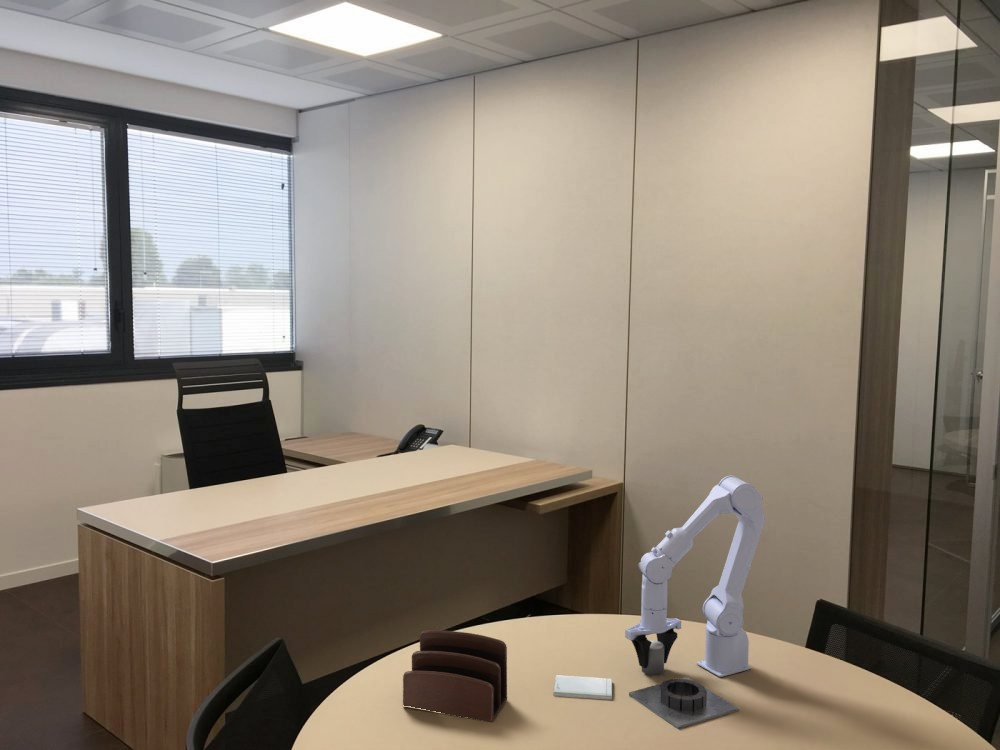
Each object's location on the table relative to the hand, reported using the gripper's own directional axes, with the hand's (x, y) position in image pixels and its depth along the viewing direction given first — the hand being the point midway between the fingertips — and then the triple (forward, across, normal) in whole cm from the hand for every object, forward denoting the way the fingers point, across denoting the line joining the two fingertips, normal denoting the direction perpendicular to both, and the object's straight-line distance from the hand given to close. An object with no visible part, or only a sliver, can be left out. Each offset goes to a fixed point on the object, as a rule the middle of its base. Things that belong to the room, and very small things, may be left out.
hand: (652, 664), depth 189 cm
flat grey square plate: (+2, +4, +15) cm, 16 cm away
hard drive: (+2, +19, 0) cm, 19 cm away
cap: (+2, 0, 0) cm, 2 cm away
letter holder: (+2, +47, -7) cm, 47 cm away
